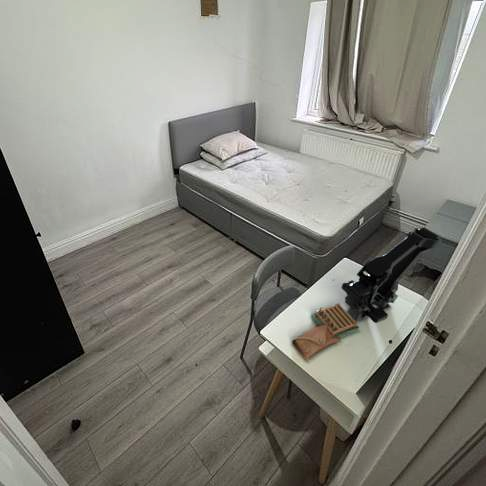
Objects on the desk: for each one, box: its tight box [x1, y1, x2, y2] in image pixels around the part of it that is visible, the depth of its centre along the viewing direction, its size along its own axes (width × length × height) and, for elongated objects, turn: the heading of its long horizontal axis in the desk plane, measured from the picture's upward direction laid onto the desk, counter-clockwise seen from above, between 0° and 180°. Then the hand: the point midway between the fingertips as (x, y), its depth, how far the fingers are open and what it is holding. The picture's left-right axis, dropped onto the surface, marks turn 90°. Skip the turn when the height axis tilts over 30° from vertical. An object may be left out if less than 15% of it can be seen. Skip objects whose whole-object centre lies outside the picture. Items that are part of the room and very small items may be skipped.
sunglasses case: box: [291, 321, 342, 361], centre depth 110 cm, size 18×7×7 cm, turn 118°
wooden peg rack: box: [311, 302, 360, 339], centre depth 115 cm, size 13×12×8 cm
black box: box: [347, 306, 369, 323], centre depth 119 cm, size 6×5×6 cm
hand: (357, 313), depth 120 cm, fingers closed on black box, 5 cm apart
